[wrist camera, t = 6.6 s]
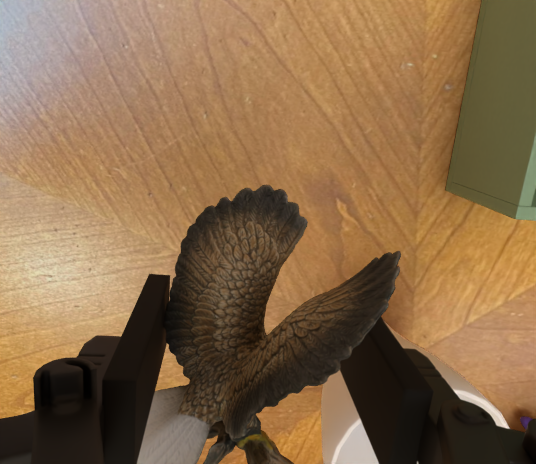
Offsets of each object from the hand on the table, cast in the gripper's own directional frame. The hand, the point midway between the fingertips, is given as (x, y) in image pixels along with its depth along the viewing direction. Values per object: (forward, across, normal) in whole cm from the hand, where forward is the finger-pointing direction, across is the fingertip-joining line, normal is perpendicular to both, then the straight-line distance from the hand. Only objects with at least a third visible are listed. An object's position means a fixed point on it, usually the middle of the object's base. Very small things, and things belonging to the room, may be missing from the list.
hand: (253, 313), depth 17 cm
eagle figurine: (+1, 0, 0) cm, 1 cm away
